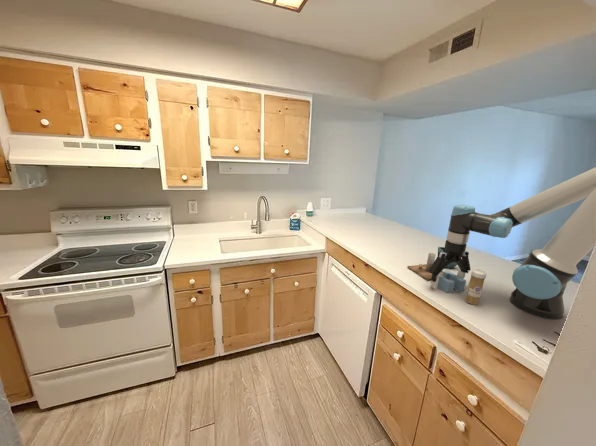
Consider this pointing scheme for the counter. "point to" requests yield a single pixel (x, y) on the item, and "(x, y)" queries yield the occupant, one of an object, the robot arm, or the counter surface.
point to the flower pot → (451, 265)
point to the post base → (424, 268)
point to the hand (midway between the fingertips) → (446, 286)
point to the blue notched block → (450, 282)
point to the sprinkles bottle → (475, 286)
